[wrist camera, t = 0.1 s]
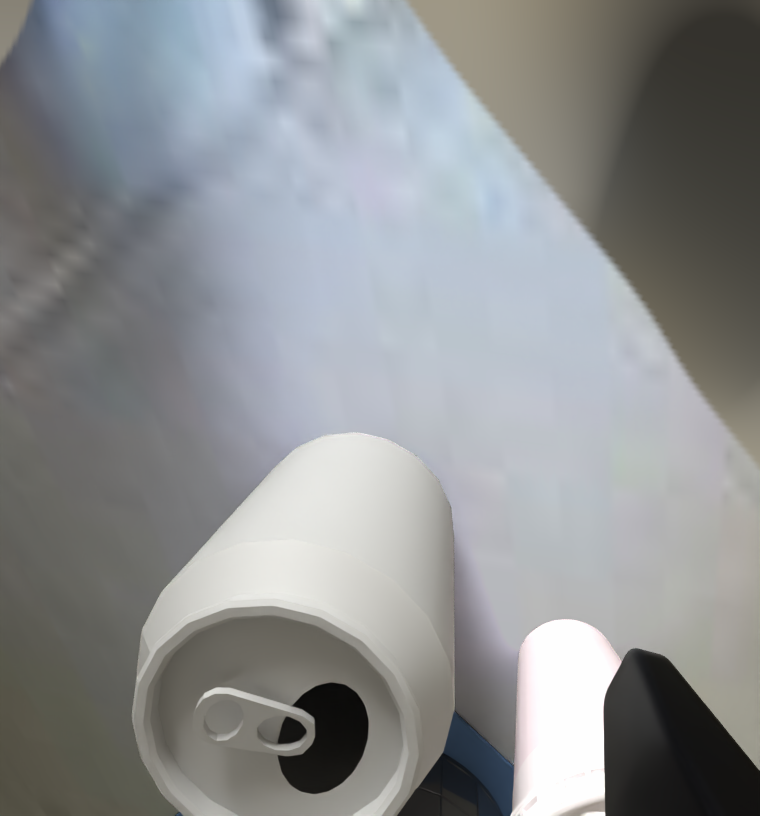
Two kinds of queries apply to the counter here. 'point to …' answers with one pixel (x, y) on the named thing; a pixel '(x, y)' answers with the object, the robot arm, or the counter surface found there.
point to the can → (307, 643)
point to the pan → (450, 793)
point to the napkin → (480, 762)
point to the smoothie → (561, 720)
